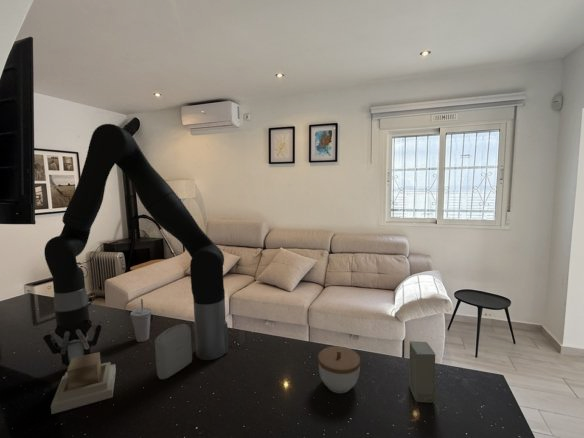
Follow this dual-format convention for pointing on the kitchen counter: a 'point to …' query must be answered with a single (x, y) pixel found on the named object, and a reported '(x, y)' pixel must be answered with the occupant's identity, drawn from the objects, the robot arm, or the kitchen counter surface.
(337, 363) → the lidded jar
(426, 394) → the skincare box
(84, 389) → the cream base
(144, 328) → the smoothie
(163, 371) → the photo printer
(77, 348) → the grey post
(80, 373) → the oak block
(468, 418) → the kitchen counter surface
